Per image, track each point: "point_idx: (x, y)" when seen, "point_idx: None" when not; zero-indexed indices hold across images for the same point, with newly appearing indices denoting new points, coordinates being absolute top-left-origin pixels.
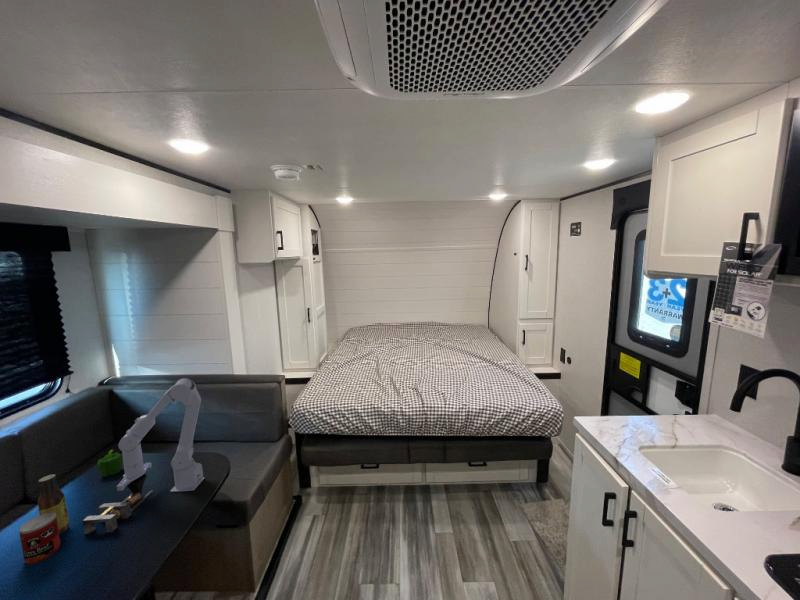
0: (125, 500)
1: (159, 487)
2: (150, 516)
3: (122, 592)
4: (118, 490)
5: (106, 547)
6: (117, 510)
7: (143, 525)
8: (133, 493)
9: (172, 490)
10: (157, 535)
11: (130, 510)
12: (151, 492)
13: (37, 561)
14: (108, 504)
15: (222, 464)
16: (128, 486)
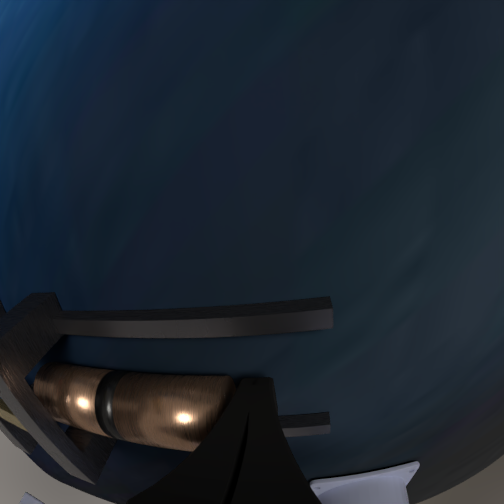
0: (115, 430)
1: (381, 417)
2: (151, 474)
3: (36, 463)
4: (33, 498)
5: None
6: (56, 420)
7: (114, 467)
8: (199, 442)
9: (318, 485)
10: (114, 490)
11: (111, 443)
12: (313, 429)
13: None
14: (8, 394)
15: (466, 478)
16: (168, 488)
